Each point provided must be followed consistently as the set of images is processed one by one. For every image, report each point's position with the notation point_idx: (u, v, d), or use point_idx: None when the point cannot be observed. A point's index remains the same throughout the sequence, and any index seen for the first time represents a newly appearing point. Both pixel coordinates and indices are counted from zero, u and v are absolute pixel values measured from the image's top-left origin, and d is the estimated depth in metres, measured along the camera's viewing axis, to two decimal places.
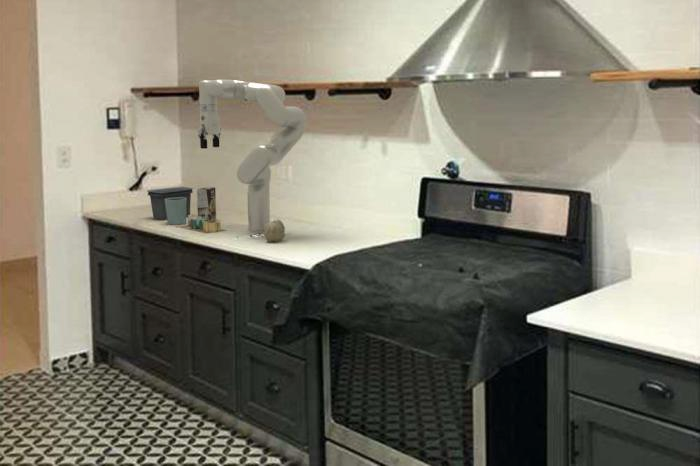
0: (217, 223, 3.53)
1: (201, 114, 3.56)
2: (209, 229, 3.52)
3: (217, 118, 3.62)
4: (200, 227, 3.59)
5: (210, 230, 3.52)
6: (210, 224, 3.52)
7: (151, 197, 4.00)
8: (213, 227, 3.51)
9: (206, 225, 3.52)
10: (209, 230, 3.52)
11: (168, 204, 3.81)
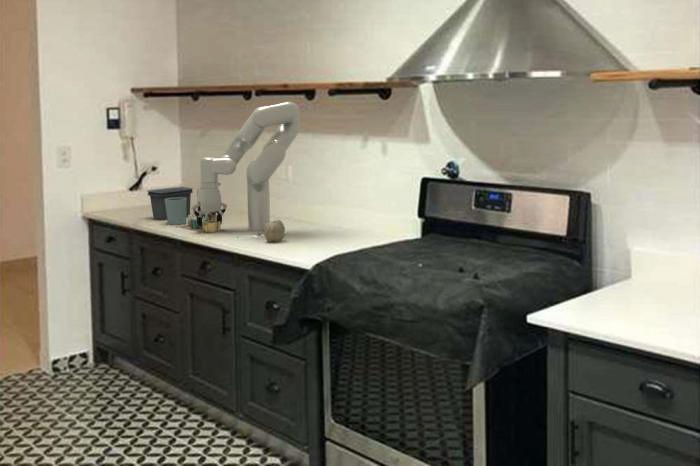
0: (217, 223, 3.53)
1: None
2: (209, 229, 3.52)
3: None
4: (200, 227, 3.59)
5: (210, 230, 3.52)
6: (210, 224, 3.52)
7: (151, 197, 4.00)
8: (213, 227, 3.51)
9: (206, 225, 3.51)
10: (209, 230, 3.52)
11: (168, 204, 3.81)
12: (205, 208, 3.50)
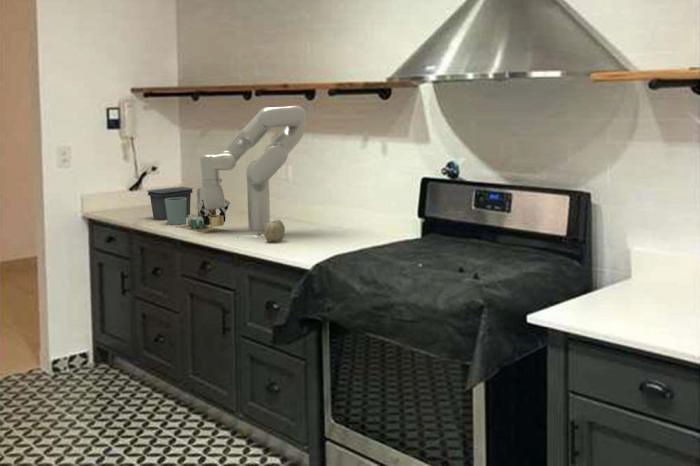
0: (220, 217, 3.52)
1: None
2: (212, 224, 3.52)
3: None
4: (200, 227, 3.59)
5: (213, 225, 3.52)
6: (213, 219, 3.51)
7: (151, 197, 4.00)
8: (216, 221, 3.51)
9: (209, 220, 3.51)
10: (212, 225, 3.52)
11: (168, 204, 3.81)
12: (209, 205, 3.50)
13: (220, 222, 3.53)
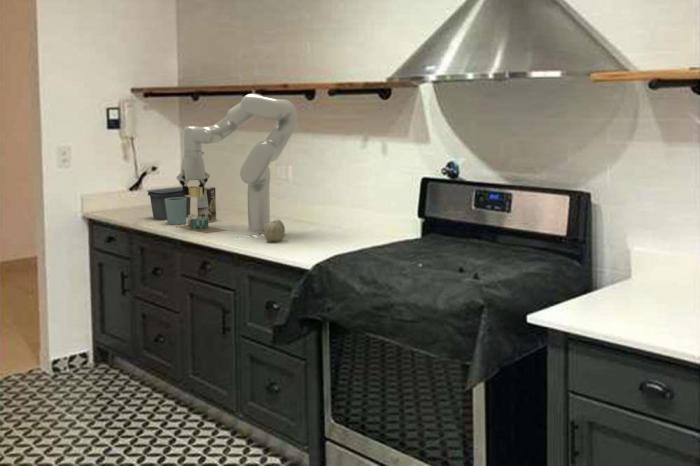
0: (199, 188, 3.61)
1: None
2: (191, 194, 3.60)
3: None
4: (200, 227, 3.59)
5: (192, 195, 3.60)
6: (192, 189, 3.59)
7: (151, 197, 4.00)
8: (195, 192, 3.59)
9: (188, 190, 3.59)
10: (191, 195, 3.60)
11: (168, 204, 3.81)
12: (189, 176, 3.58)
13: (199, 193, 3.61)
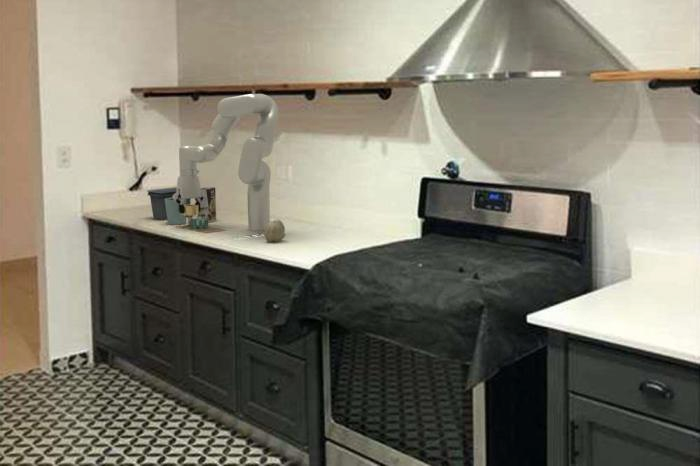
0: (195, 207, 3.66)
1: None
2: (187, 212, 3.65)
3: None
4: (200, 227, 3.59)
5: (188, 213, 3.65)
6: (188, 208, 3.65)
7: (151, 197, 4.00)
8: (191, 210, 3.64)
9: (184, 208, 3.65)
10: (187, 213, 3.65)
11: (168, 204, 3.81)
12: (185, 195, 3.63)
13: (195, 211, 3.66)
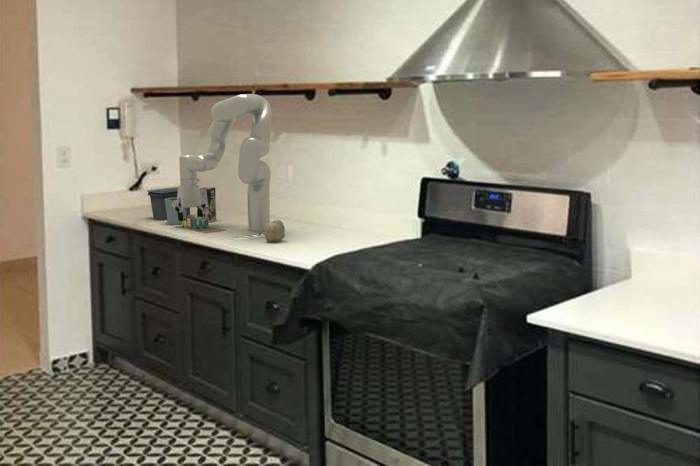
0: (195, 218, 3.67)
1: None
2: (188, 224, 3.66)
3: None
4: (200, 227, 3.59)
5: (189, 225, 3.66)
6: (189, 219, 3.65)
7: (151, 197, 4.00)
8: None
9: (185, 220, 3.65)
10: (188, 225, 3.66)
11: (168, 204, 3.81)
12: (185, 203, 3.64)
13: None
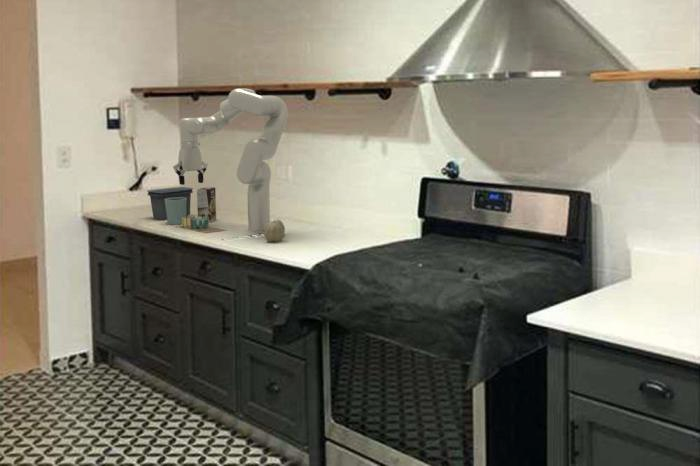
0: (195, 218, 3.67)
1: None
2: (188, 224, 3.66)
3: None
4: (200, 227, 3.59)
5: (189, 225, 3.66)
6: (189, 219, 3.65)
7: (151, 197, 4.01)
8: None
9: (185, 220, 3.65)
10: (188, 225, 3.66)
11: (168, 204, 3.81)
12: (187, 167, 3.65)
13: None
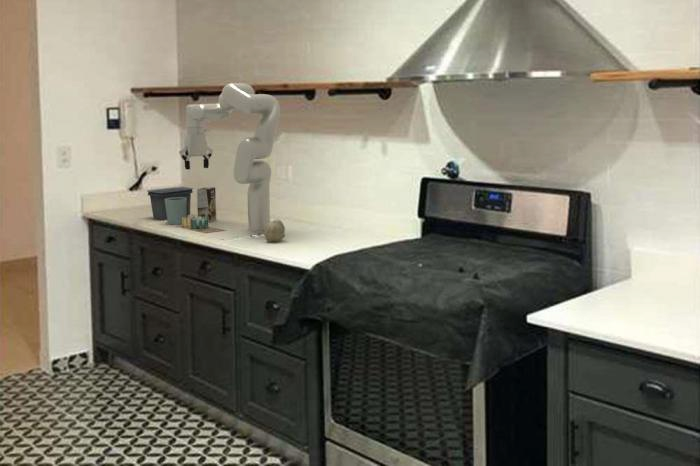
0: (195, 218, 3.67)
1: None
2: (188, 224, 3.66)
3: None
4: (200, 227, 3.59)
5: (189, 225, 3.66)
6: (189, 219, 3.65)
7: (151, 197, 4.01)
8: None
9: (185, 220, 3.65)
10: (188, 225, 3.66)
11: (168, 204, 3.81)
12: (192, 152, 3.74)
13: None
